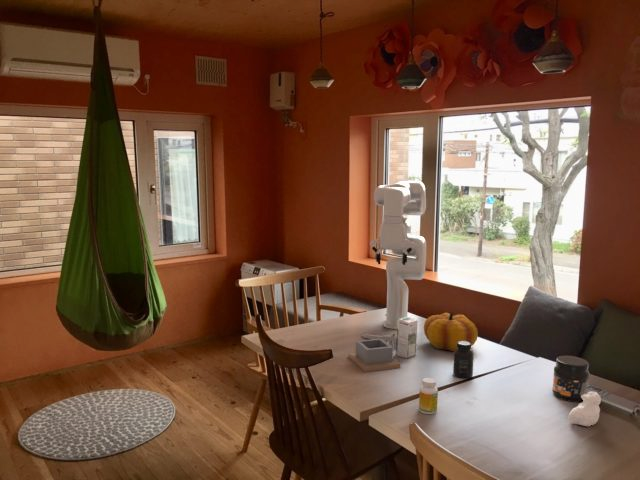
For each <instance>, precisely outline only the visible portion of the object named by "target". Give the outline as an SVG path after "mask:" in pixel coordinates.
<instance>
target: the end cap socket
mask: <svg viewBox="0 0 640 480" xmlns="http://www.w3.org/2000/svg"><path fill="white" fill-rule="evenodd" d="M348 358H350V359H351V360H352V362H354V363H355V364H356V365H357V366H358V367H359V368H360V369H362V371H364V372H365V373H366V372H375V371H382V370H390V369H391V370H392V369H398V368H401V363H400V362H399V361H398V360H396V359H395V358H394V347H392V346H391V345H389V342H385V341H384V340H382V339H362V340H356V341H355V352H348Z"/></svg>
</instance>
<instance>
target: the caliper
mask: <svg viewBox="0 0 640 480" xmlns="http://www.w3.org/2000/svg"><path fill="white" fill-rule="evenodd" d="M360 337H362V338H365V339H367V340H371V339H382V340H384V341H385V342H387V343H388V344H389V345H391V346H392V347H393V350H396V335H395V334H394V333H390V335H376V334H375V335H374V334H369V333H368V334H365V333H364V334H362V335H361V336H360Z"/></svg>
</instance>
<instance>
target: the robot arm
mask: <svg viewBox="0 0 640 480" xmlns="http://www.w3.org/2000/svg"><path fill="white" fill-rule="evenodd" d="M426 192H427V190H426V187H425V184H424V183H423V182H422V181H415V180H400V181H396V182H395V183H390V184H383V185H382V184H381V185H379V186H377V187H376V188H375V190H374V193H373V200H374V203H375V205H376V206H380V207H381V206H382V207H383V218H382V222H381V224H380V226H379V233H378V238H376V239H374V240H372V241H370V242H369V245H370V247H371V249H372V250H373V251H374V252H375V254H376V257H375V260H376V263H377V264H378V265H381V258H382V257H381V253H382V251H383V250H385V251H386V250H387V251H388V250H389V251H391V253H392V255H394V256H401V257H391V258H388V260H387V261H386V263H385V270H386V281H387V284H386V285H387V288H386V289H387V290H386V291H387V292H386V313H385V318H386V319H385V320H383V321H382V326H383V327H384V328H387V329H391V330H397V320H398V319H402V318H405V317H408V309H409V306H408V305H409V287H408V284H407V283H406V282H405V280H413V281H414V280H415V281H420V280H423V279H424V278H425V275H426V267H427V266H426V265H427V264H426V263H427V262H426V261H427V240H426V239H425V238H424V237H423V236H422V235H412V234H411V233H412V231H411V230H412V225H411V223H410V222H409V221H408V219H407V217H405V216H422V215H424V214H425V213H426V209H427V195H426V194H427V193H426ZM377 243H378V247H377V248H376V246H375V244H377ZM410 257H411V258H410Z"/></svg>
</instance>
